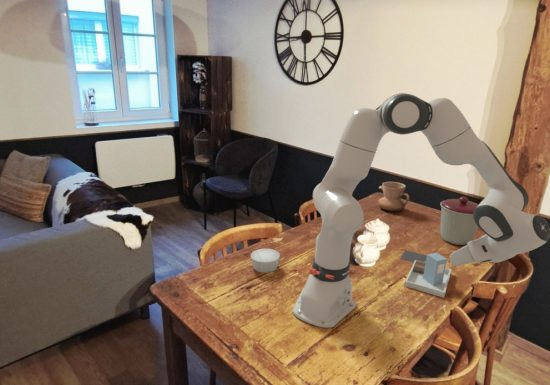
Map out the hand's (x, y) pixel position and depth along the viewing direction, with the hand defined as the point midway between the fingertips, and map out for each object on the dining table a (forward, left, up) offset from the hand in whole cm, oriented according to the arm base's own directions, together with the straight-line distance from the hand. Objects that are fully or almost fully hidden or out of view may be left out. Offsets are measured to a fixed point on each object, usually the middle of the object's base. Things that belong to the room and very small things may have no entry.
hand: (462, 260), depth 123 cm
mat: (+21, +18, -15) cm, 31 cm away
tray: (+6, +10, -15) cm, 19 cm away
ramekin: (-18, +66, -15) cm, 70 cm away
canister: (+50, +5, -15) cm, 53 cm away
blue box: (+6, +8, -14) cm, 17 cm away
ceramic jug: (+73, +40, -15) cm, 85 cm away
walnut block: (+12, +13, -14) cm, 22 cm away
